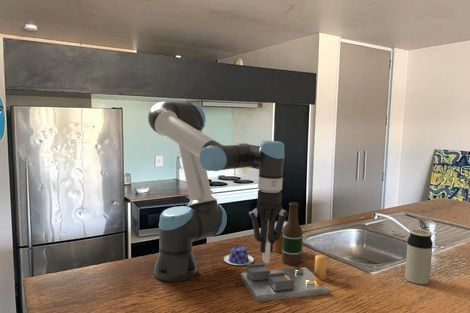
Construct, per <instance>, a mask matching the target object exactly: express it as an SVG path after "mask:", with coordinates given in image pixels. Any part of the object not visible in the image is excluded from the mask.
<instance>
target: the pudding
mask: <svg viewBox="0 0 470 313" xmlns="http://www.w3.org/2000/svg"><path fill="white" fill-rule="evenodd" d="M223 261H224V262H226V263H227V264H229V265H234V266H247V265H251V264H252V263H253V262H254V261H255V260H254V257H253V256H251V255H249V254H248V250H247V248H246V247H244V246H243V245H242V246H240V245H238V246H237V245H236V246H233V247H231V249H230V253H229V254H227V255H225V256H224V257H223Z"/></svg>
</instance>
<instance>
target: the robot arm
mask: <svg viewBox="0 0 470 313" xmlns="http://www.w3.org/2000/svg"><path fill="white" fill-rule="evenodd" d="M147 119H148V124H149V126H150V128H151V129H152V130H153V131H154V132H155V133H157V134H158V135H160V136H162V137H167V138H169V139H171V141H173V142H175V144H178V147H179V151H180V152H179V153H180V157H181V162H182V166H183V171H184V176H185V177H184V178H185V181H186V187H187V191H188V197H189V202H188V204H187V205H185V206H184V205H181V206H173V207H172V206H171V207H169V208H166V209H164V210H163V211H162V212H161V213H160V215H159V223H158V227H159V228H158V229H159V231H158V232H159V236H158V237H159V238H158V239H159V242H158V243H159V244H158V246H159V248H158V249H159V252H158V255H157V259H156V261H155V265H154V268H153V274H154V275H153V276H154V277H155V278H157V279H158V280H161V281H165V282H182V281H186V280H189V279H192V278H194V277H195V276H196V274H197V264H196V260H195V258H194V254H193V243H194V242H196V241H199V240H204V239H207V238H212V237H215V236H218V235H220V234H222V233H223V231H224V230H225V227H226V225H227V223H228V221H227V220H228V219H227V212H226V210H225V208H223V205H221V204H218V200H217V198H215V197H213V195H212V190H211V186H210V185H211V184H210V181H209V176H208V172H212V171H213V172H219V171H225V170H235V169H244V168H245V169H246V168H250V169H256V170H258V182H257V183H258V184H257V188H258V190H257V200H256V201H257V202H256V203H257V204H256V205H255V208H254V209H253V210H250V211H249V210H248V215H249V216H250V218H251V223H252V224H251V225H252V229H253V234H254V239H255V240H256V241H257V242H258V243H260V246H259V250H260V252H261V253H262V255H261V256H262V257H261V260H262V262H263V263H264V264H270V260H271V258H270V256H271V253H273V249H274V243H275V242H274V241H278V240H279V238H280V234H281V231H282V228H283V224H284V221H286V218H287V217H288V216H289V211H287V210H285V209H283V206H282V197H283V196H282V195H283V194H282V190H283V180H284V178H283V176H284V175H283V172H284V163H285V162H284V161H285V156H286V155H285V144H284V142H282V141H277V140H262V141H261V142H260V145H255V144H249V143H246V142H245V143H236V144H235V145H234V144H233V145H232V144H231V145H230V144H229V145H224V144H222V143H220V142H218V141H216V140H214V139H212V138H211V137H210V136H208V135H207V134H204V133H203V130H204V128H205V126H206V124H205V123H206V114H205V112H204V109H203V108H202V107H201V106H200V105H199V104H198V103H194V102H189V101H188V102H187V101H186V102H181V101H160V102H157V103H156V104H154V105H153V106H152V107H151V108H150V110H149V112H148V116H147ZM258 215H259V216H260V227H259V221H258V218H257V217H258ZM276 219H277V224H276V227H275V222H276ZM274 230H275V231H274Z"/></svg>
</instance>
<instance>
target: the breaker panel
mask: <svg viewBox="0 0 470 313" xmlns="http://www.w3.org/2000/svg"><path fill="white" fill-rule="evenodd" d="M269 270H270V269H269ZM281 272H287V275H288V276H289V277H290V279H291V280H292V279H294V289H287V290H277V291H275V290H274V289H273V287H272V286H271V285H270V284H269V282H268V279H263V280H253V281H252V280H251V278H250V277H249V275H248V274H247V272H241V273H240V279H241V281H242V282H243V284H244V285H245V287H246V289H247V290H248V292H249V293H250V294H251V296H252V298H253V299H254V301H255V302H256V303H259V302H265V301H267V302H268V301H276V300H284V299H293V298H294V299H295V298H302V297H311V296H320V295H328V294H329V293H330V292H329V290H330V287H328V286H327V285H326V284H325V283H324V282H323V280H320V279H318V278H317V277H316V276H315V275H314V273H313V272H312V271H311V270H309V269H308V268H307V267H306V266H304V267H293V268H283V269H273V270H270V273H281Z"/></svg>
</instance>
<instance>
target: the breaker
mask: <svg viewBox="0 0 470 313" xmlns="http://www.w3.org/2000/svg"><path fill="white" fill-rule="evenodd" d="M265 265H266V263H264V262H263V263H253V264H252V263H250V264H246V273H247V274H248V275H249V277H250V278H251V280H252V281H253V280H263V279H268V274H270V269H268V268H267V267H266V266H265Z"/></svg>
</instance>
